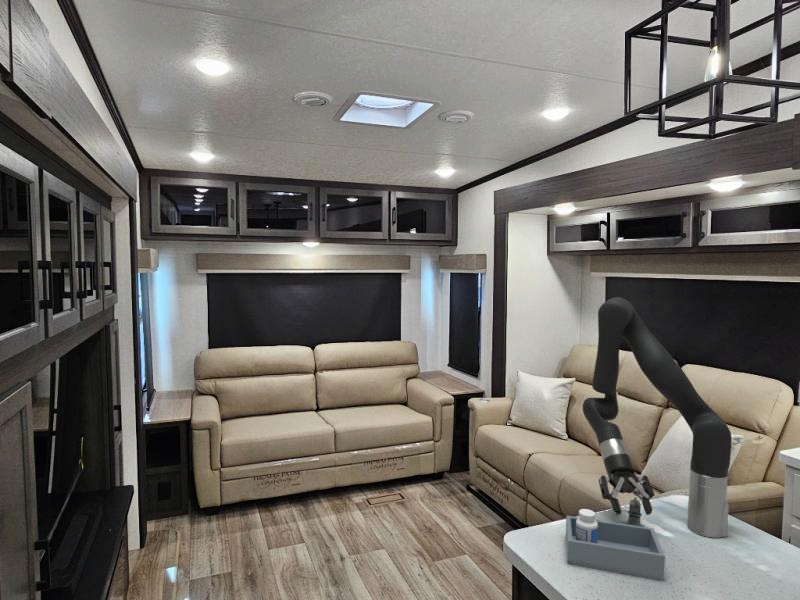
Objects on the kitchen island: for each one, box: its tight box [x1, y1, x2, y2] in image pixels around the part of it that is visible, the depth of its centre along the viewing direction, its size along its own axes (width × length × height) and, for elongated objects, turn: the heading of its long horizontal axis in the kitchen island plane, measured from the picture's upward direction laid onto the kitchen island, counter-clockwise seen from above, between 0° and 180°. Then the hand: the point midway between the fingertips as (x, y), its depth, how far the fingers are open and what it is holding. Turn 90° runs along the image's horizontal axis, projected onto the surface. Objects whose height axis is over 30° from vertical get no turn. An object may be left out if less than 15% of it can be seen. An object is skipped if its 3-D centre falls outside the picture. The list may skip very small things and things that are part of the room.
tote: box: [565, 515, 666, 581], centre depth 131 cm, size 22×14×6 cm, turn 74°
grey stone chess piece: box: [622, 496, 645, 527], centre depth 140 cm, size 6×6×12 cm
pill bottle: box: [576, 508, 598, 543], centre depth 133 cm, size 6×5×10 cm
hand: (634, 513), depth 140 cm, fingers open, 8 cm apart
